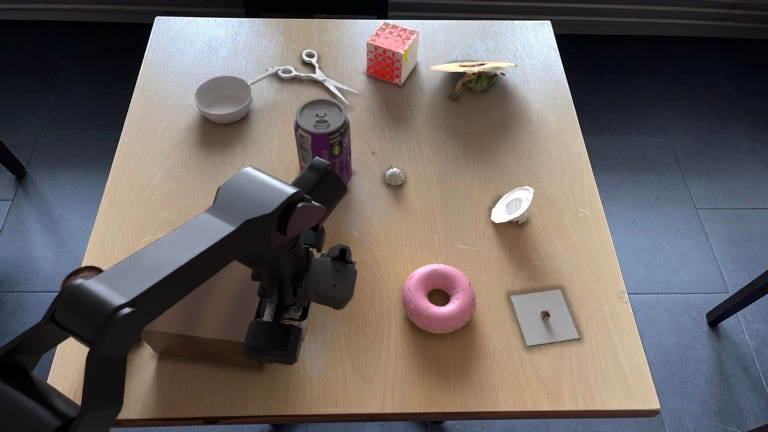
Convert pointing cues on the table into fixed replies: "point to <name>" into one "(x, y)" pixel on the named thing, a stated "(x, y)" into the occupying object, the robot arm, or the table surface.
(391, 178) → the white rounded lump
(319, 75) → the scissors
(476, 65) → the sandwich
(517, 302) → the grey square plate
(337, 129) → the beverage can
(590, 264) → the table surface
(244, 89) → the saucepan
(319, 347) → the table surface
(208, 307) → the cabinet
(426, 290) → the doughnut
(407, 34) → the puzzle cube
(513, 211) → the white footed dish
